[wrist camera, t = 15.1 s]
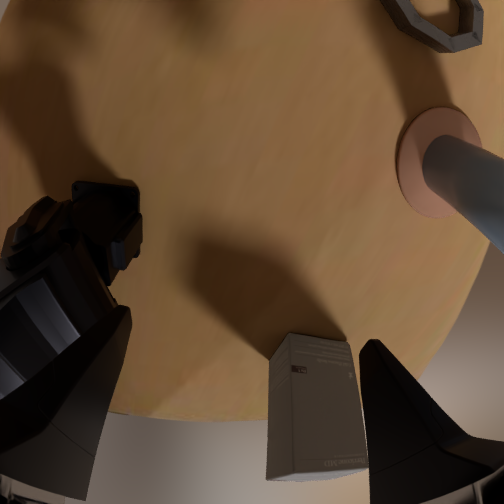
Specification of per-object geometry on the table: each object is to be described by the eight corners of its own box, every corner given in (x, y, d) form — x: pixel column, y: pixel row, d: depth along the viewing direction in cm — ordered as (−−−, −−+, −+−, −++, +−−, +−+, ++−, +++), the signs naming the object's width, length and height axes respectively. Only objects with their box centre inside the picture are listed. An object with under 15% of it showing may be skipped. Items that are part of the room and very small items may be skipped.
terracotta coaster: (380, 199, 20) (382, 202, 20) (416, 86, 15) (419, 86, 14) (456, 226, 21) (459, 228, 21) (490, 136, 16) (493, 137, 15)
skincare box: (349, 340, 30) (379, 465, 17) (321, 371, 34) (337, 480, 20) (284, 329, 28) (297, 475, 15) (262, 363, 32) (264, 485, 19)
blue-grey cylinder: (411, 163, 18) (519, 246, 8) (449, 121, 15) (566, 176, 5) (440, 206, 20) (526, 294, 10) (474, 167, 17) (569, 236, 7)
